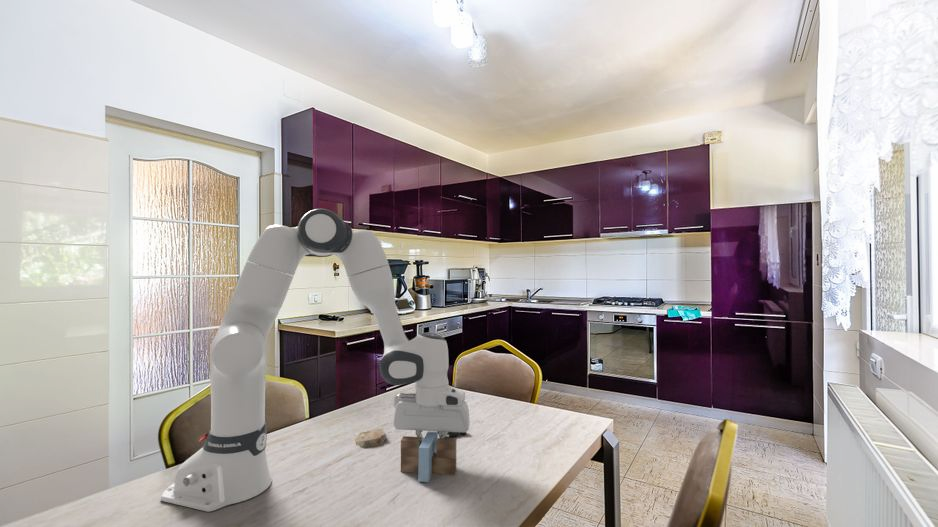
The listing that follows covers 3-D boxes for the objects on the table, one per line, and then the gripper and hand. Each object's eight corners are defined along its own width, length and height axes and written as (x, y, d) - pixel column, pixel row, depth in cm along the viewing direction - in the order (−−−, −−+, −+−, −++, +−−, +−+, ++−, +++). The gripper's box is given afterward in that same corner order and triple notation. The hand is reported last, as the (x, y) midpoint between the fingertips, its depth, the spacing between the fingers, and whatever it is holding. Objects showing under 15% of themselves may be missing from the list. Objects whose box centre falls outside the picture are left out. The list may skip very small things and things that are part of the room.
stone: (357, 449, 116) (357, 440, 116) (353, 440, 122) (353, 432, 122) (387, 444, 120) (387, 435, 120) (382, 436, 125) (382, 427, 125)
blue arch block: (428, 482, 97) (428, 448, 97) (418, 481, 97) (418, 447, 98) (437, 460, 109) (437, 430, 109) (428, 459, 109) (428, 429, 109)
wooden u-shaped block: (400, 471, 102) (400, 440, 103) (403, 467, 105) (403, 436, 105) (455, 474, 101) (455, 442, 101) (456, 469, 103) (456, 438, 104)
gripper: (390, 396, 105) (390, 449, 105) (468, 399, 103) (467, 453, 103) (397, 389, 111) (396, 439, 111) (470, 392, 109) (470, 443, 109)
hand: (431, 446), depth 107 cm, fingers open, 3 cm apart
